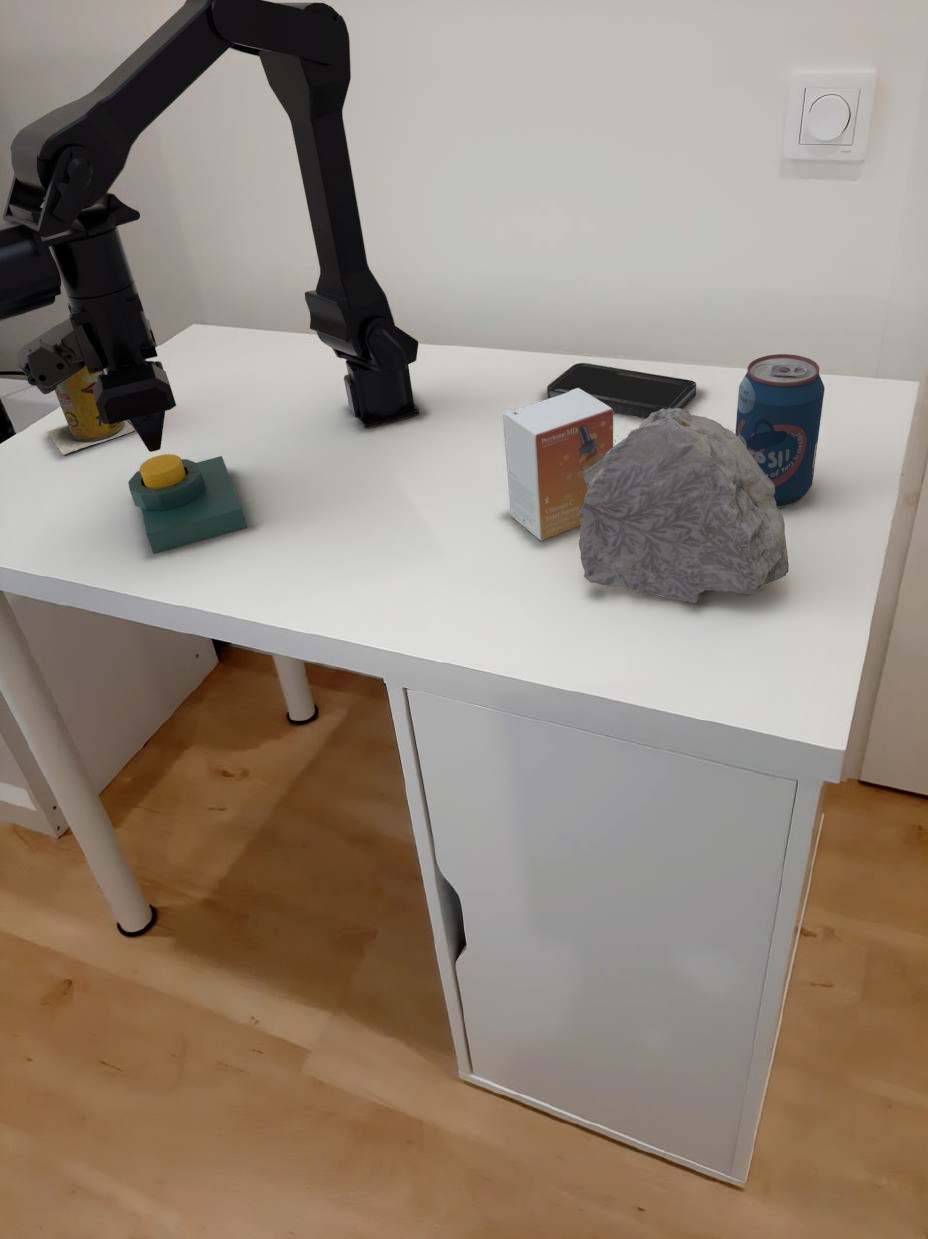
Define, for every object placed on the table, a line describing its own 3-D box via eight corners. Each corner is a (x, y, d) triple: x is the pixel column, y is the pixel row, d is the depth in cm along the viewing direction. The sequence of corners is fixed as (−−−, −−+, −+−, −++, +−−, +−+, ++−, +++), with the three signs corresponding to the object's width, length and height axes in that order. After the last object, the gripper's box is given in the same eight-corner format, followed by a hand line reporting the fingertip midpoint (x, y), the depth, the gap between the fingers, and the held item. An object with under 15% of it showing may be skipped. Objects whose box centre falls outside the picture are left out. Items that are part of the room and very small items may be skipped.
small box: (540, 543, 86) (533, 435, 79) (509, 516, 90) (499, 411, 83) (616, 514, 88) (615, 407, 82) (582, 489, 92) (578, 385, 86)
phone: (669, 412, 100) (543, 388, 107) (668, 422, 101) (543, 398, 108) (700, 381, 105) (578, 361, 112) (699, 391, 106) (578, 370, 113)
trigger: (183, 465, 97) (178, 450, 96) (188, 483, 94) (183, 467, 93) (143, 476, 96) (137, 460, 95) (147, 494, 93) (141, 478, 92)
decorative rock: (571, 590, 80) (563, 424, 71) (594, 546, 84) (590, 385, 75) (777, 622, 74) (798, 445, 65) (790, 572, 79) (811, 401, 69)
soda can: (725, 508, 87) (734, 383, 80) (736, 470, 92) (745, 349, 85) (807, 516, 85) (824, 388, 77) (813, 476, 90) (830, 352, 82)
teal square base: (227, 474, 102) (217, 440, 100) (247, 528, 93) (237, 492, 91) (136, 498, 100) (124, 463, 98) (148, 555, 91) (135, 519, 89)
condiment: (135, 431, 113) (101, 331, 106) (63, 456, 110) (23, 355, 102) (116, 411, 118) (83, 314, 111) (47, 434, 115) (7, 336, 107)
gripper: (4, 277, 89) (65, 431, 98) (1, 344, 74) (72, 517, 84) (127, 251, 91) (174, 404, 101) (147, 312, 77) (200, 484, 86)
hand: (154, 449), depth 93 cm, fingers closed
